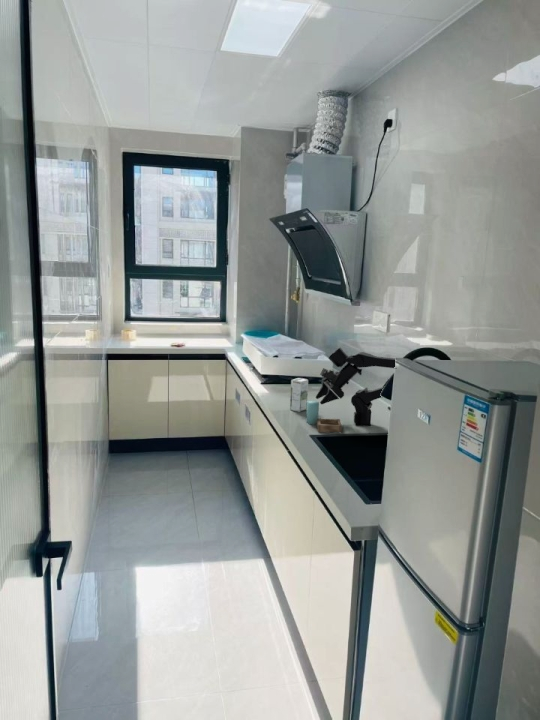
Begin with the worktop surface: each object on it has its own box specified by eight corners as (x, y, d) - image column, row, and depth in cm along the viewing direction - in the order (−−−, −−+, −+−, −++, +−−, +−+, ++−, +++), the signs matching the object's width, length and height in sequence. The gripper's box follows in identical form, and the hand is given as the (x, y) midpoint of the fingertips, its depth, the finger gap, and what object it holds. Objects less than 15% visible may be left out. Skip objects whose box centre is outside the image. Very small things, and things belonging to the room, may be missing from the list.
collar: (339, 426, 233) (339, 419, 232) (341, 432, 224) (341, 425, 223) (316, 425, 233) (317, 418, 233) (318, 432, 224) (318, 424, 223)
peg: (317, 421, 239) (318, 401, 238) (318, 424, 235) (319, 403, 233) (306, 420, 240) (306, 400, 238) (306, 424, 235) (307, 403, 233)
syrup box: (297, 407, 261) (298, 377, 259) (307, 409, 258) (308, 379, 255) (289, 409, 257) (290, 379, 255) (300, 412, 253) (301, 381, 251)
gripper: (327, 358, 243) (301, 383, 243) (337, 366, 225) (309, 393, 225) (344, 375, 245) (318, 400, 246) (355, 385, 227) (328, 411, 228)
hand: (318, 400), depth 236 cm, fingers open, 9 cm apart
